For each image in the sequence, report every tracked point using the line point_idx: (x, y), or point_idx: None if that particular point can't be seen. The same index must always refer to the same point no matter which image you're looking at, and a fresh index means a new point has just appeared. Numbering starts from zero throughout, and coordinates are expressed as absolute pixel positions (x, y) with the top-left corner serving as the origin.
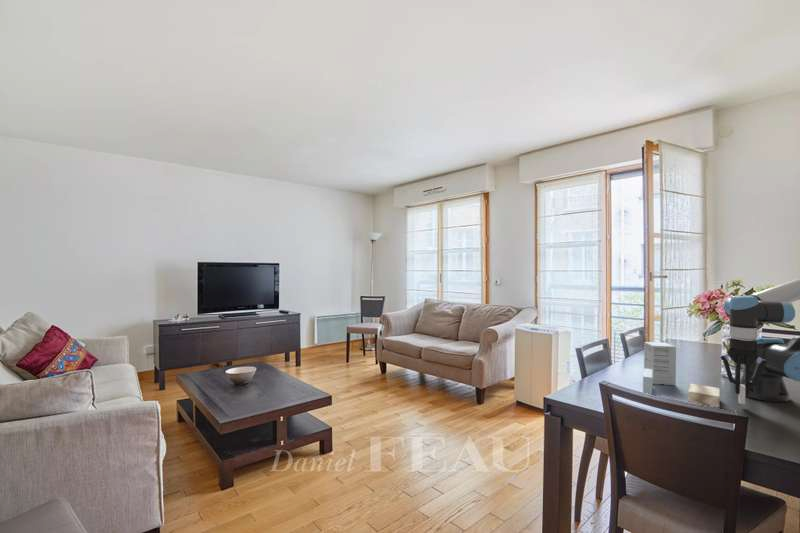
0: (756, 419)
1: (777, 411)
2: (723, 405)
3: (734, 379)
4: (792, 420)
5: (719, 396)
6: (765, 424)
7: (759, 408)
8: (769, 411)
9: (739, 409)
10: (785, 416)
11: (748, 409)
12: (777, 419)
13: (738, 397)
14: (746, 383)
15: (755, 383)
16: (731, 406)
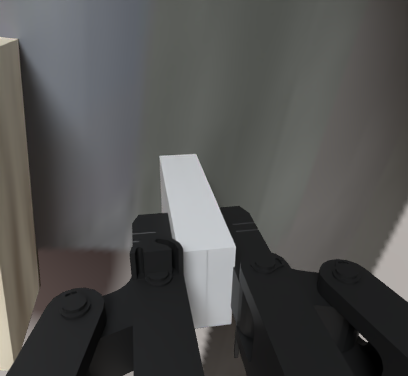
0: (216, 328)
1: (383, 106)
2: (58, 184)
3: (127, 327)
4: (387, 239)
5: (8, 117)
6: (238, 366)
7: (289, 103)
8: (331, 139)
9: (156, 212)
10: (383, 189)
11: (211, 176)
12: (318, 268)
13: (162, 172)
14: (252, 349)
15: (345, 353)
16: (111, 174)
